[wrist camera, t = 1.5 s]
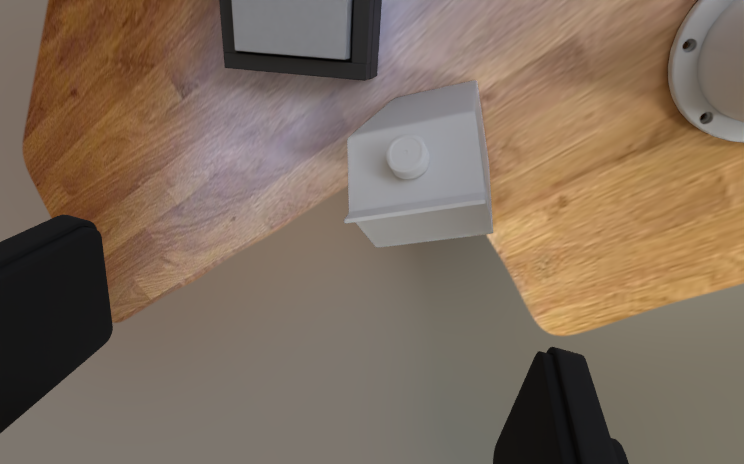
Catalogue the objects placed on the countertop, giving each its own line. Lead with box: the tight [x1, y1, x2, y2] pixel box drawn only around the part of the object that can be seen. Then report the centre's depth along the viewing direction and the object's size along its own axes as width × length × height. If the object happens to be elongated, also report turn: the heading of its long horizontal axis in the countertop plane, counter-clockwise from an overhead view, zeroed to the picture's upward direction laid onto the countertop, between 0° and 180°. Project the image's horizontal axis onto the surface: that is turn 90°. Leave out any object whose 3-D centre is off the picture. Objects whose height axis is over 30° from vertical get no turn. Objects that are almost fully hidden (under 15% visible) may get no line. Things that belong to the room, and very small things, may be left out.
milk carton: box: [344, 80, 493, 247], centre depth 30 cm, size 7×7×19 cm
